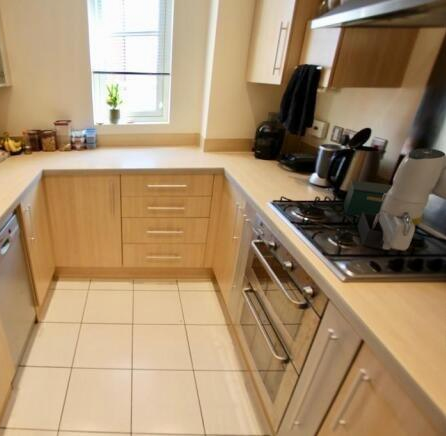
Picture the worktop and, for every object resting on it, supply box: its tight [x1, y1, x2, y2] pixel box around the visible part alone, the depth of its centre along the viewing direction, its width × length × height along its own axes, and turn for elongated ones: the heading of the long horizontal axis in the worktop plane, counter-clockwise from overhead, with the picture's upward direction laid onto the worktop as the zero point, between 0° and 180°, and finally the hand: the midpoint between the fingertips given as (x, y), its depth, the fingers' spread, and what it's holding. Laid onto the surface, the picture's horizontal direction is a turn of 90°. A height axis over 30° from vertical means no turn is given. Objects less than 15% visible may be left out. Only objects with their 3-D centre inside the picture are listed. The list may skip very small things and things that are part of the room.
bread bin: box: [343, 179, 393, 218], centre depth 121 cm, size 14×11×11 cm
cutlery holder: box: [357, 212, 400, 253], centre depth 103 cm, size 9×14×10 cm, turn 153°
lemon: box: [412, 213, 424, 227], centre depth 112 cm, size 6×6×8 cm
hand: (384, 247), depth 96 cm, fingers closed
